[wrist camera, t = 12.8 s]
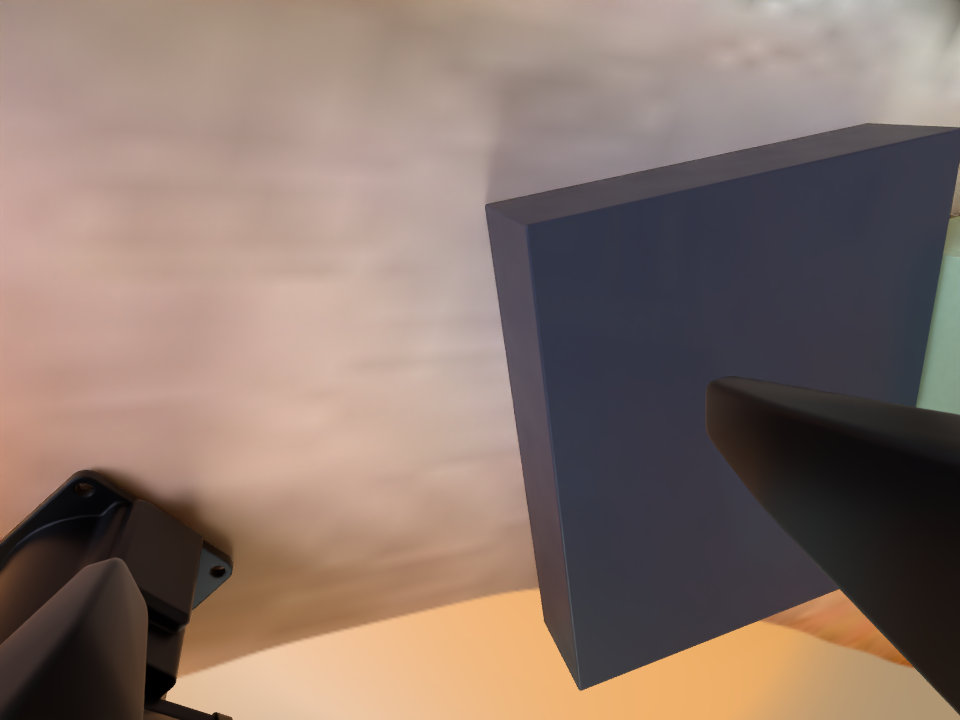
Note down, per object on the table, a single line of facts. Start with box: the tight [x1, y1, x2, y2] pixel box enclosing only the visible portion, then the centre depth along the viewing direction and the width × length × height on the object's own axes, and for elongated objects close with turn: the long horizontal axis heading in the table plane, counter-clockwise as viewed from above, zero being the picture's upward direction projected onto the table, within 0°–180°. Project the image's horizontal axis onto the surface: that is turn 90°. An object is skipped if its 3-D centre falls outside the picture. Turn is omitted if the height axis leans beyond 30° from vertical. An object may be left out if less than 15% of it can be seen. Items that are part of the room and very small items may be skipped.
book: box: [485, 123, 960, 690], centre depth 25 cm, size 16×20×4 cm
